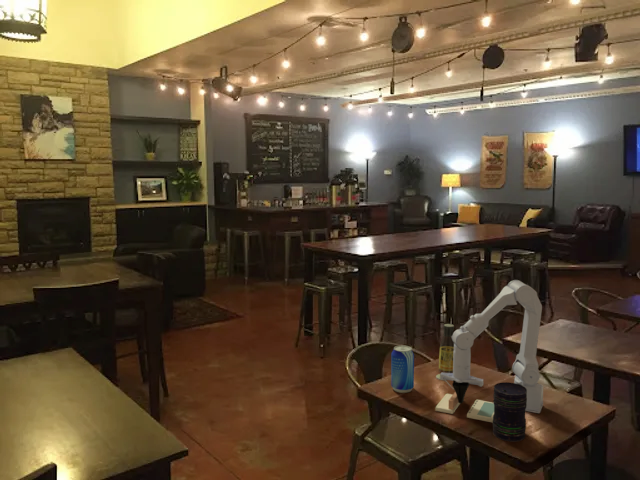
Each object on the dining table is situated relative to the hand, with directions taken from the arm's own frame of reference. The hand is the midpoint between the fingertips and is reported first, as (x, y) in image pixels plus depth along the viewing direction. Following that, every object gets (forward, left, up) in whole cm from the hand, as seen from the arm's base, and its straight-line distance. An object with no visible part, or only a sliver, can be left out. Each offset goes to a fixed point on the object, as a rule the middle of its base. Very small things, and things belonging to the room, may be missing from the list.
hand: (460, 402), depth 194 cm
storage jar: (-18, +12, -2) cm, 22 cm away
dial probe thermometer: (+11, -20, -3) cm, 23 cm away
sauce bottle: (+14, -30, -2) cm, 33 cm away
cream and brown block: (+4, 0, -2) cm, 4 cm away
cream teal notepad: (-8, 0, -2) cm, 9 cm away
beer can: (+24, -6, -2) cm, 25 cm away
